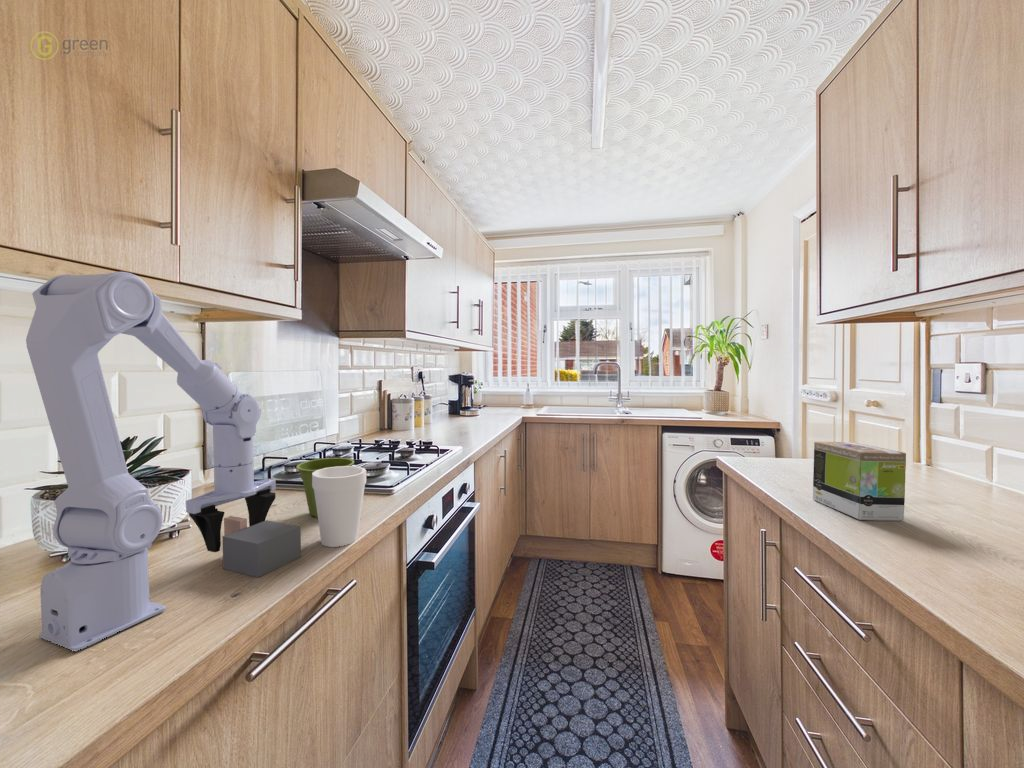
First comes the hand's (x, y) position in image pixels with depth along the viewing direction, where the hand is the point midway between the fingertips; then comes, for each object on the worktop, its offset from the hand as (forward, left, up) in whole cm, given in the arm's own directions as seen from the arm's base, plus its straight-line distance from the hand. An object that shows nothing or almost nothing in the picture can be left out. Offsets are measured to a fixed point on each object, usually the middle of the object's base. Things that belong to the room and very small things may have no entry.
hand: (235, 542), depth 74 cm
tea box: (+69, -108, -3) cm, 129 cm away
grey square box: (0, -6, -2) cm, 7 cm away
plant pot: (+23, +2, -3) cm, 23 cm away
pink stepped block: (0, -3, -1) cm, 3 cm away
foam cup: (+12, -11, -3) cm, 17 cm away
